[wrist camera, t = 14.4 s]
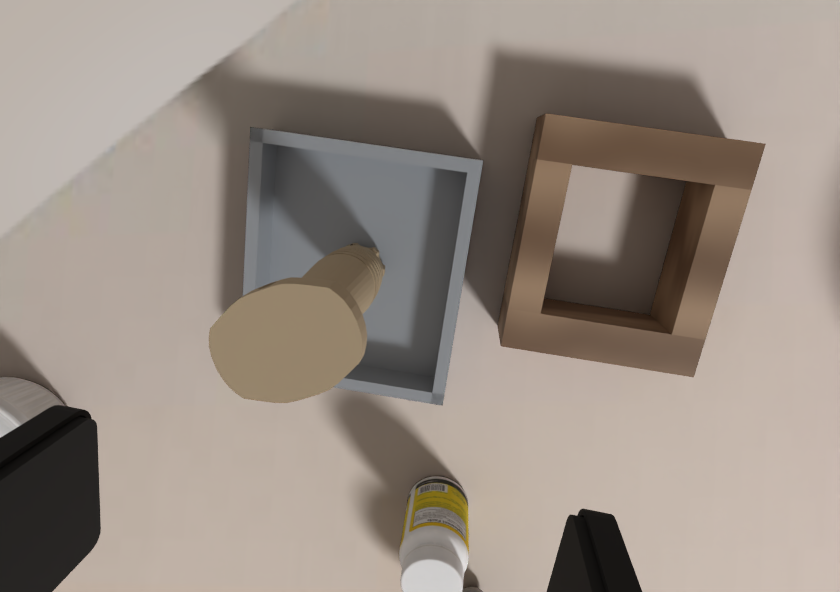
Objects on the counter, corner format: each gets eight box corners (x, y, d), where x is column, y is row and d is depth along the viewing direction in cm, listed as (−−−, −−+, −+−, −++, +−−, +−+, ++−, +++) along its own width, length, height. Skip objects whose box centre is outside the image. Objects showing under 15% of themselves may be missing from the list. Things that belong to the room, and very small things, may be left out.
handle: (306, 247, 35) (190, 315, 21) (393, 215, 34) (333, 264, 20) (333, 311, 37) (240, 417, 22) (419, 282, 35) (379, 375, 21)
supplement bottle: (442, 536, 42) (436, 628, 34) (396, 502, 41) (378, 587, 33) (481, 498, 41) (484, 584, 33) (434, 462, 40) (425, 541, 32)
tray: (271, 129, 35) (250, 127, 31) (481, 159, 34) (483, 160, 31) (259, 352, 39) (239, 371, 36) (444, 383, 38) (442, 405, 35)
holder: (536, 117, 33) (545, 113, 29) (730, 144, 32) (765, 143, 28) (497, 325, 37) (500, 346, 33) (669, 353, 36) (693, 377, 32)
